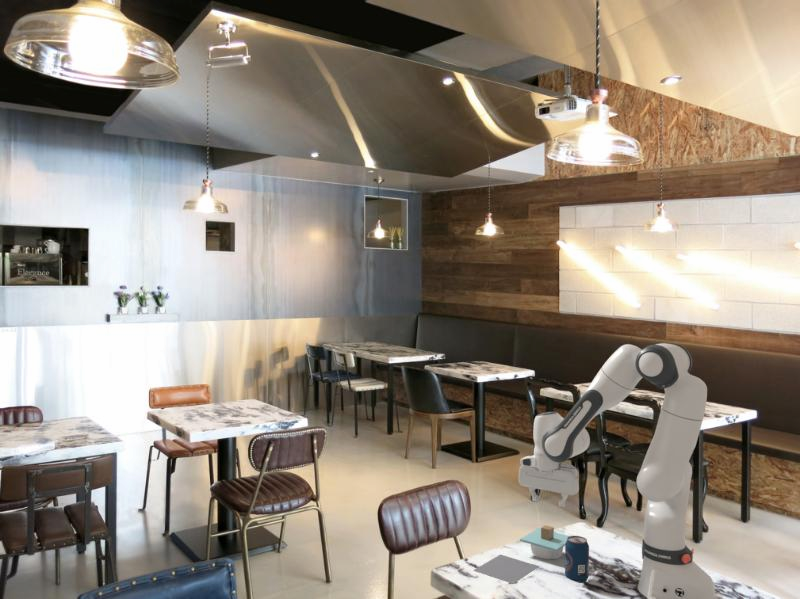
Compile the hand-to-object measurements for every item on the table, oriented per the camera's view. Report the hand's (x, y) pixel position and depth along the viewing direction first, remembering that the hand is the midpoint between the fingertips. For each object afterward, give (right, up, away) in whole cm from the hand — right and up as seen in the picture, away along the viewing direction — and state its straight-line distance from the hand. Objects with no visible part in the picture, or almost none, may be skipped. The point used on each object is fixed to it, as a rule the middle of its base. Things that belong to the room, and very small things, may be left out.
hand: (548, 503), depth 211 cm
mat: (-16, -17, -11) cm, 26 cm away
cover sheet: (0, -12, 0) cm, 12 cm away
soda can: (+5, -18, -17) cm, 25 cm away
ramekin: (0, -18, +1) cm, 18 cm away
